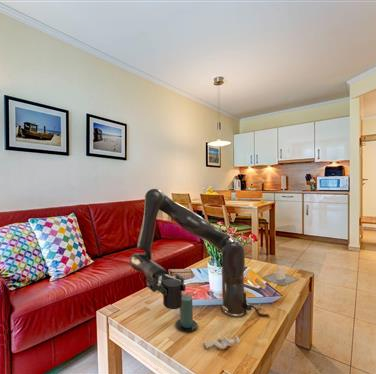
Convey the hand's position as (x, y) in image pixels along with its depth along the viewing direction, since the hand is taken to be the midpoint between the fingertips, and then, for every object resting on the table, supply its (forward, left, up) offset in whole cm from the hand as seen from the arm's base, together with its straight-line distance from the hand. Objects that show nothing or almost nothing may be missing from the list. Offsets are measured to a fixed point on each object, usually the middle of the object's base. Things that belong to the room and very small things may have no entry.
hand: (175, 290), depth 83 cm
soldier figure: (-16, 0, -22) cm, 27 cm away
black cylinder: (+1, -2, -6) cm, 6 cm away
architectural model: (-74, -50, -22) cm, 92 cm away
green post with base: (-7, -13, -22) cm, 27 cm away
